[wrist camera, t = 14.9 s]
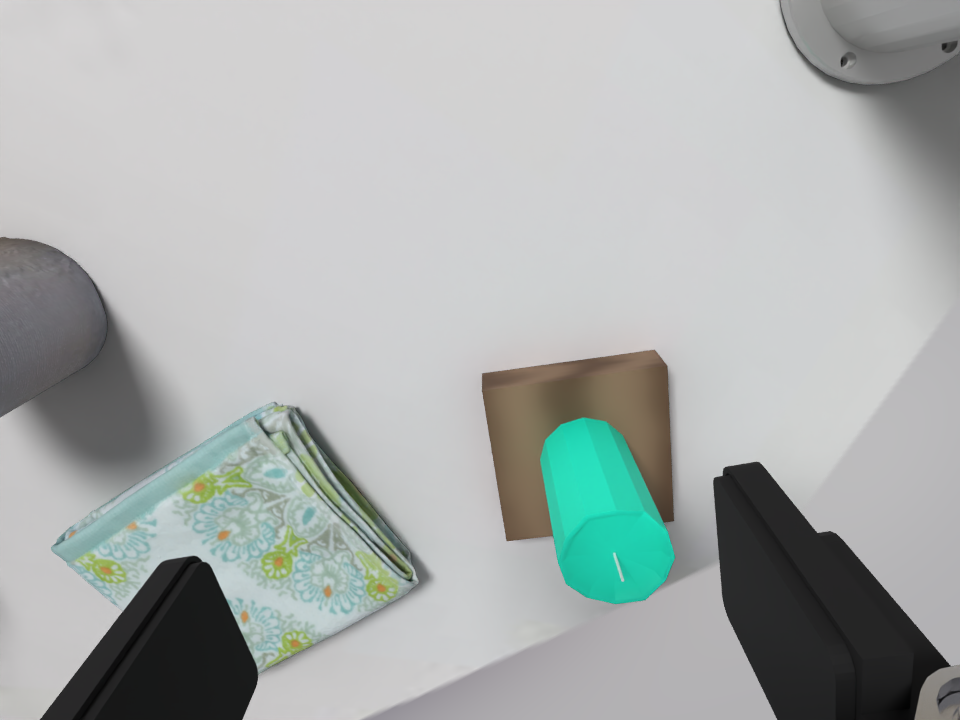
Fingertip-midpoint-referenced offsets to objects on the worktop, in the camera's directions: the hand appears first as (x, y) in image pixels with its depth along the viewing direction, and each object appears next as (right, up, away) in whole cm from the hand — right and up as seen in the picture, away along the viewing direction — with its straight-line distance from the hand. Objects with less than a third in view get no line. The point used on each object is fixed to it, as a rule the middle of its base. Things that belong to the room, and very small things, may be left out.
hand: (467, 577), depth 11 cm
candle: (+7, -3, +30) cm, 31 cm away
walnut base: (+7, -2, +32) cm, 33 cm away
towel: (-18, -10, +36) cm, 42 cm away
